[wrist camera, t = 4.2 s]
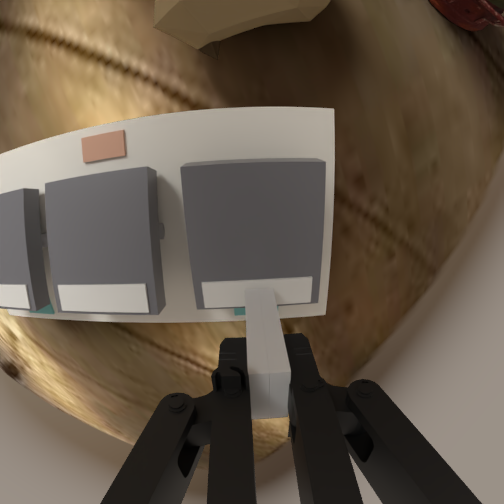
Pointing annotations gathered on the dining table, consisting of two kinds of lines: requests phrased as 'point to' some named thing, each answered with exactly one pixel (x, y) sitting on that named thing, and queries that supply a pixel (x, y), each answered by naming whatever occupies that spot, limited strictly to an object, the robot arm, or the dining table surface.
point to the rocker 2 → (254, 229)
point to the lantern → (471, 12)
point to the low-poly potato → (227, 18)
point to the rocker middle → (105, 243)
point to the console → (177, 184)
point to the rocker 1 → (21, 252)
